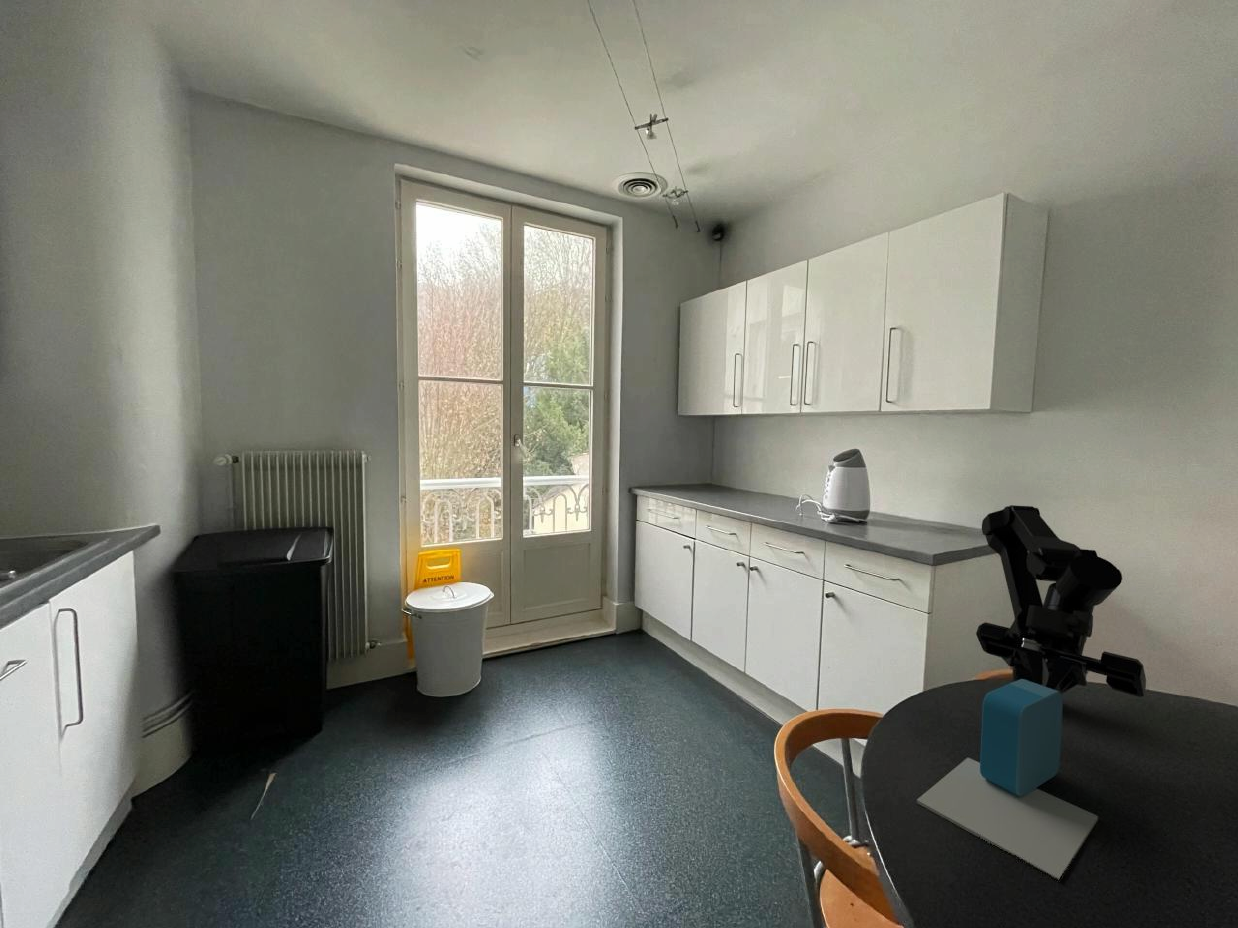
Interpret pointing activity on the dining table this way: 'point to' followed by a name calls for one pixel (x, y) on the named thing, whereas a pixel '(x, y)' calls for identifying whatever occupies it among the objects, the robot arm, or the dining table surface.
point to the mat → (1011, 818)
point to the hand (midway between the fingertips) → (1040, 706)
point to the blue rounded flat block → (1021, 736)
